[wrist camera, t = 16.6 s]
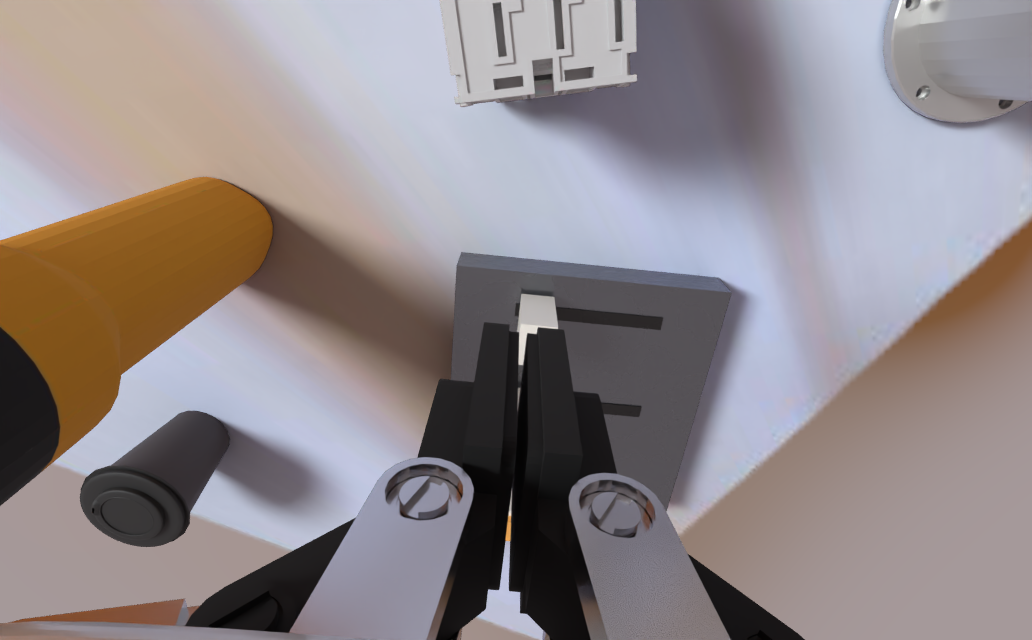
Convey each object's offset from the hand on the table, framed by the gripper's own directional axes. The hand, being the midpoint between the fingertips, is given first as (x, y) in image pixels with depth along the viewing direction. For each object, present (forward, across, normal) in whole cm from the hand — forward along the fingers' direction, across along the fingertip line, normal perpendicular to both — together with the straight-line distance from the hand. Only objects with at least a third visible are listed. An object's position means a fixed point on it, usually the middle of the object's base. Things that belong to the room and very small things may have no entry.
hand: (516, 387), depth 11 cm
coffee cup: (+29, +27, +27) cm, 48 cm away
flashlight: (+29, +22, +7) cm, 37 cm away
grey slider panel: (+29, -6, +18) cm, 35 cm away
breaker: (+26, -2, +10) cm, 28 cm away
